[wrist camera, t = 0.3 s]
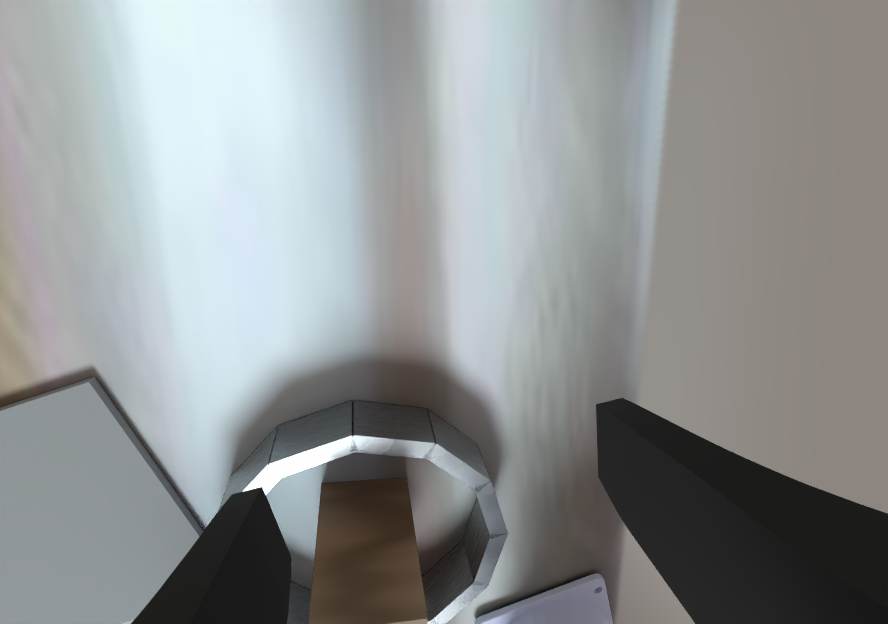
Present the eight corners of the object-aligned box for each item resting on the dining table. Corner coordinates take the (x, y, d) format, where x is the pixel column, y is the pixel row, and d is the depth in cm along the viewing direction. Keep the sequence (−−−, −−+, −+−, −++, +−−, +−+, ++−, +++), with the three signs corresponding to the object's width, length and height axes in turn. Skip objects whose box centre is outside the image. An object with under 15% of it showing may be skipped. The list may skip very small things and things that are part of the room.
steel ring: (511, 553, 26) (526, 595, 23) (292, 634, 25) (285, 686, 23) (452, 365, 20) (464, 396, 18) (173, 460, 20) (150, 505, 17)
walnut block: (406, 477, 22) (427, 618, 16) (403, 539, 24) (421, 691, 17) (321, 482, 22) (307, 633, 15) (323, 546, 23) (311, 708, 17)
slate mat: (235, 575, 23) (233, 583, 22) (11, 656, 22) (5, 664, 22) (94, 376, 18) (88, 381, 17) (-199, 472, 17) (-211, 480, 17)
